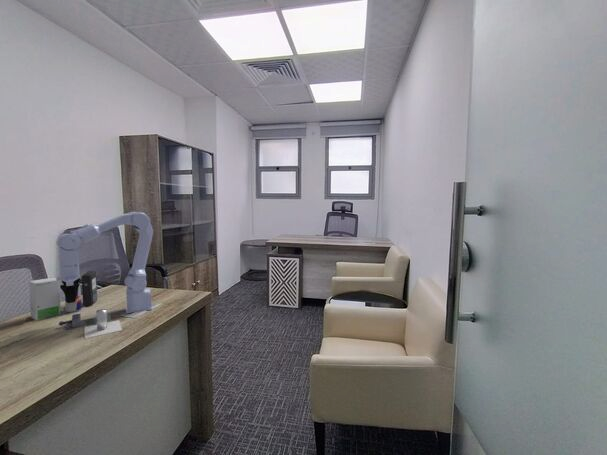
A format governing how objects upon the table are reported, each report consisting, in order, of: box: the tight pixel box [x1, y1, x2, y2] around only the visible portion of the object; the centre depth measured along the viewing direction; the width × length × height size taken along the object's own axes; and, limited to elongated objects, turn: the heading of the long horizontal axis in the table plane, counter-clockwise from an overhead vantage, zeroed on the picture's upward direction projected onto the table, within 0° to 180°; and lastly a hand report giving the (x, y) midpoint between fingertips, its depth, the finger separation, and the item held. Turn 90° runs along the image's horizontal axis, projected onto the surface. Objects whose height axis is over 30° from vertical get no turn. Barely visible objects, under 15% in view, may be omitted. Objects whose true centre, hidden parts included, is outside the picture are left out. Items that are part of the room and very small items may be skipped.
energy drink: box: [64, 284, 83, 314], centre depth 122 cm, size 5×5×12 cm
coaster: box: [84, 319, 123, 340], centre depth 105 cm, size 11×11×1 cm
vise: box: [58, 313, 112, 331], centre depth 111 cm, size 16×7×4 cm, turn 128°
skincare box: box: [28, 277, 62, 321], centre depth 117 cm, size 8×7×16 cm
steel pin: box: [95, 308, 108, 331], centre depth 105 cm, size 3×3×7 cm
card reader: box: [80, 270, 98, 308], centre depth 132 cm, size 9×4×15 cm, turn 23°
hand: (71, 299), depth 108 cm, fingers open, 7 cm apart
